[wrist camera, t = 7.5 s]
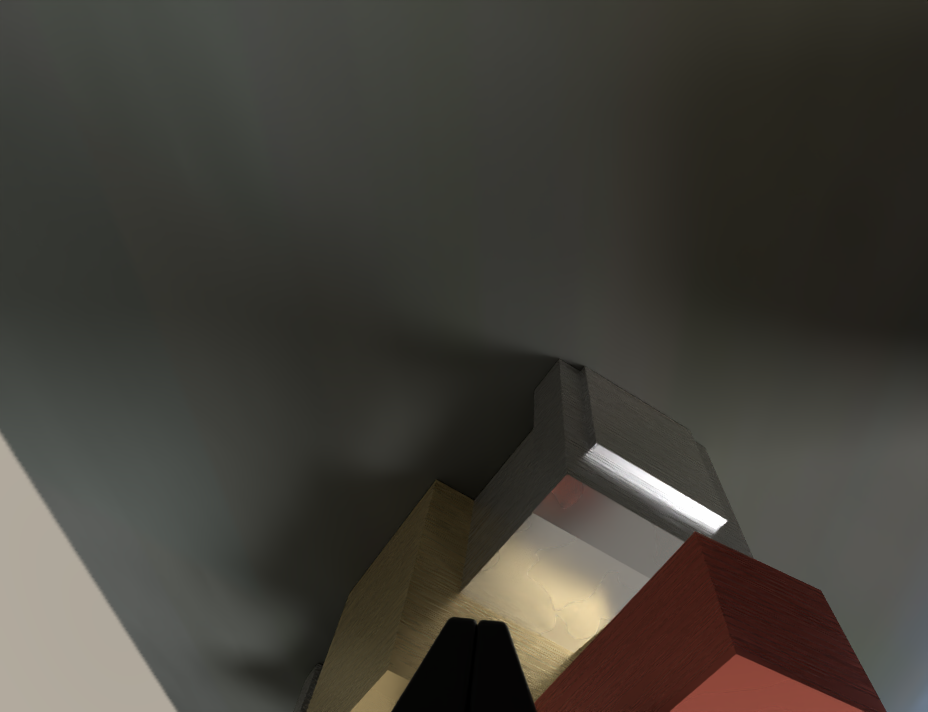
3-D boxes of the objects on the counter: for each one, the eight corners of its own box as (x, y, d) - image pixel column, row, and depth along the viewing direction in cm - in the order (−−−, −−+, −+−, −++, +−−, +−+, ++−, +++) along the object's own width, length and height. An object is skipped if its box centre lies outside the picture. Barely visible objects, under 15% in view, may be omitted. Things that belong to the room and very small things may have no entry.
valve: (542, 339, 15) (543, 572, 8) (729, 454, 16) (876, 754, 9) (288, 673, 23) (177, 939, 16) (424, 738, 24) (375, 1017, 17)
